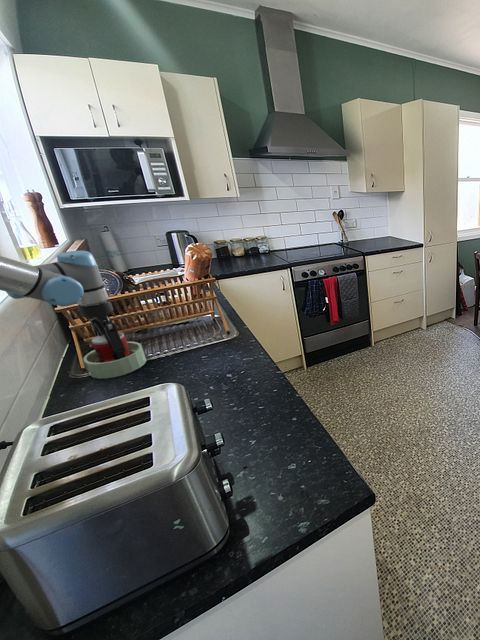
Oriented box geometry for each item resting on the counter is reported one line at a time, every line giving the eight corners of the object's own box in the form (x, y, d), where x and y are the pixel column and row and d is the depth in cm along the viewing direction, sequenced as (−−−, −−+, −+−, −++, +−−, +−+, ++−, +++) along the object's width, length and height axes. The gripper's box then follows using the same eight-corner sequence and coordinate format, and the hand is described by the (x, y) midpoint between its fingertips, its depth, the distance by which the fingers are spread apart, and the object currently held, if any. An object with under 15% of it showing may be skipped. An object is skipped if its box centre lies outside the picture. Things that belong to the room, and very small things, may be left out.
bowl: (101, 385, 107) (93, 369, 104) (83, 370, 113) (76, 354, 111) (155, 364, 118) (149, 349, 115) (135, 352, 125) (130, 337, 122)
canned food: (140, 360, 119) (129, 332, 114) (118, 373, 112) (107, 343, 107) (119, 358, 119) (108, 330, 115) (97, 371, 112) (84, 341, 108)
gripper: (123, 305, 104) (146, 370, 113) (96, 291, 114) (119, 352, 123) (91, 314, 98) (118, 380, 108) (65, 298, 108) (92, 361, 117)
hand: (118, 365), depth 115 cm, fingers closed on canned food, 8 cm apart
